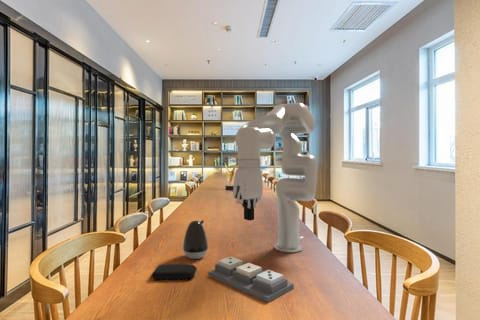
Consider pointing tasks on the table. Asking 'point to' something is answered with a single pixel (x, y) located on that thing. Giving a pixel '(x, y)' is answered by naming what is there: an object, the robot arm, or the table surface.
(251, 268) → the tile one
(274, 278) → the tile three
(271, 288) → the button board
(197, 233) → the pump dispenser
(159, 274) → the carrying case or bag
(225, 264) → the tile two
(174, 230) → the table surface
